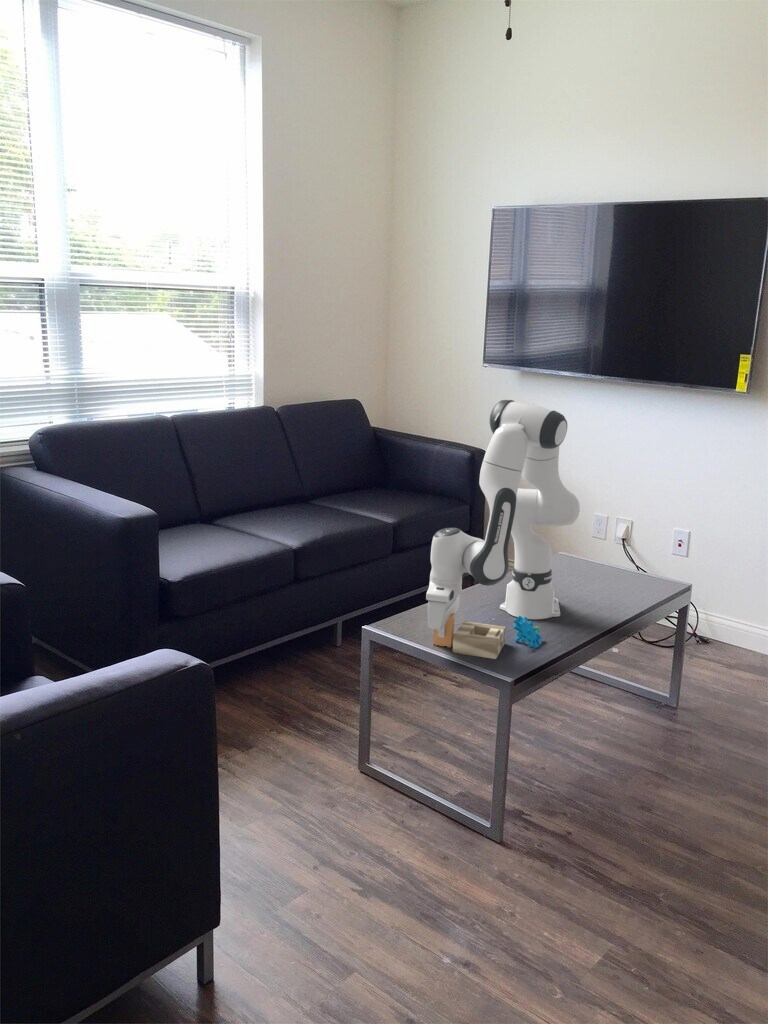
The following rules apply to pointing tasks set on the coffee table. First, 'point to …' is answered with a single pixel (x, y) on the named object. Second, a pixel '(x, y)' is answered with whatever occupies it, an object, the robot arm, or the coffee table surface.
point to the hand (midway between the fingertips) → (443, 633)
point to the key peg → (448, 637)
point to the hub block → (479, 639)
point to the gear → (527, 632)
